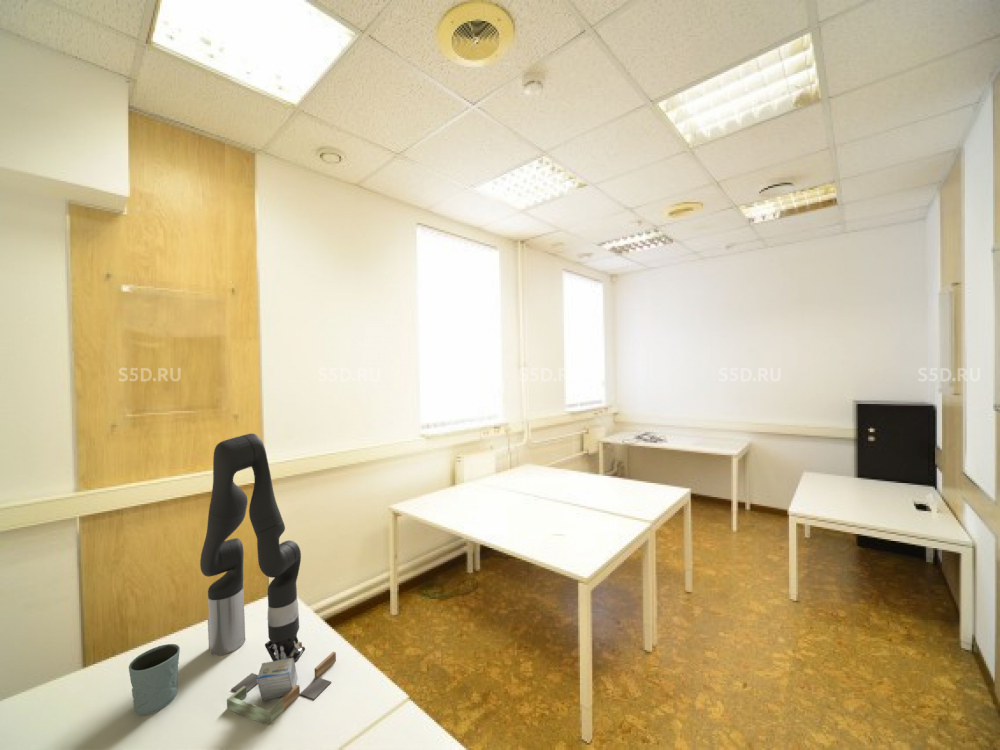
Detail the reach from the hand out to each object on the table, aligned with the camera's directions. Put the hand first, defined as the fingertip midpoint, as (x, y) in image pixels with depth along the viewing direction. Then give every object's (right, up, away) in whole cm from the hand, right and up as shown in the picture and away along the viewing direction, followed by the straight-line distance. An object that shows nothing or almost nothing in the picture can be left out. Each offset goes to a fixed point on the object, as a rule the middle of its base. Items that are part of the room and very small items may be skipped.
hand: (286, 677), depth 109 cm
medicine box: (0, -1, -3) cm, 3 cm away
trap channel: (0, -1, 0) cm, 1 cm away
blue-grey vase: (-32, -3, -5) cm, 32 cm away
